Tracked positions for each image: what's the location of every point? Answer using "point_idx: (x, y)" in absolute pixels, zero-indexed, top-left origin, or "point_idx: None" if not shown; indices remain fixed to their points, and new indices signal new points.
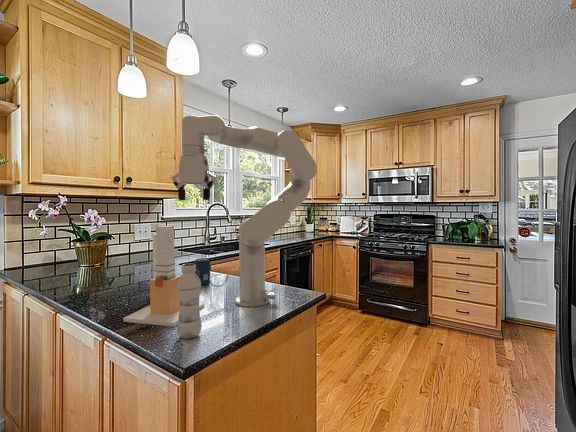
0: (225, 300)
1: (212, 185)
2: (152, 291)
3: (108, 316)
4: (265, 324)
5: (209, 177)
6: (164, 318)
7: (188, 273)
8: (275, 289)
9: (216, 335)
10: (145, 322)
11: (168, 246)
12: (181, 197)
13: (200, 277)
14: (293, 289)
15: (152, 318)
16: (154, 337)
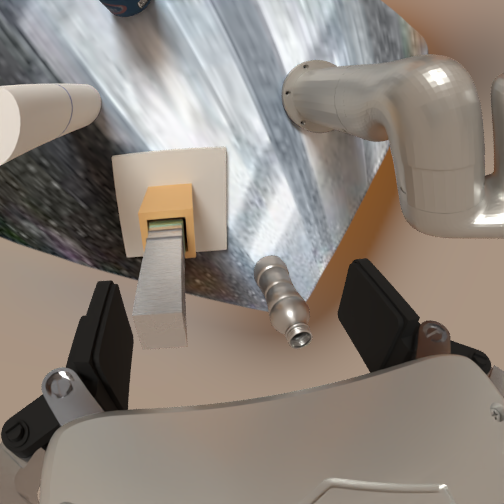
0: (253, 95)
1: (460, 348)
2: None
3: (83, 243)
4: (360, 202)
5: (500, 404)
6: (196, 239)
7: (300, 336)
8: (342, 6)
9: (302, 252)
10: None
11: (184, 294)
12: (129, 344)
13: (130, 9)
14: (378, 9)
15: None
16: (220, 281)
